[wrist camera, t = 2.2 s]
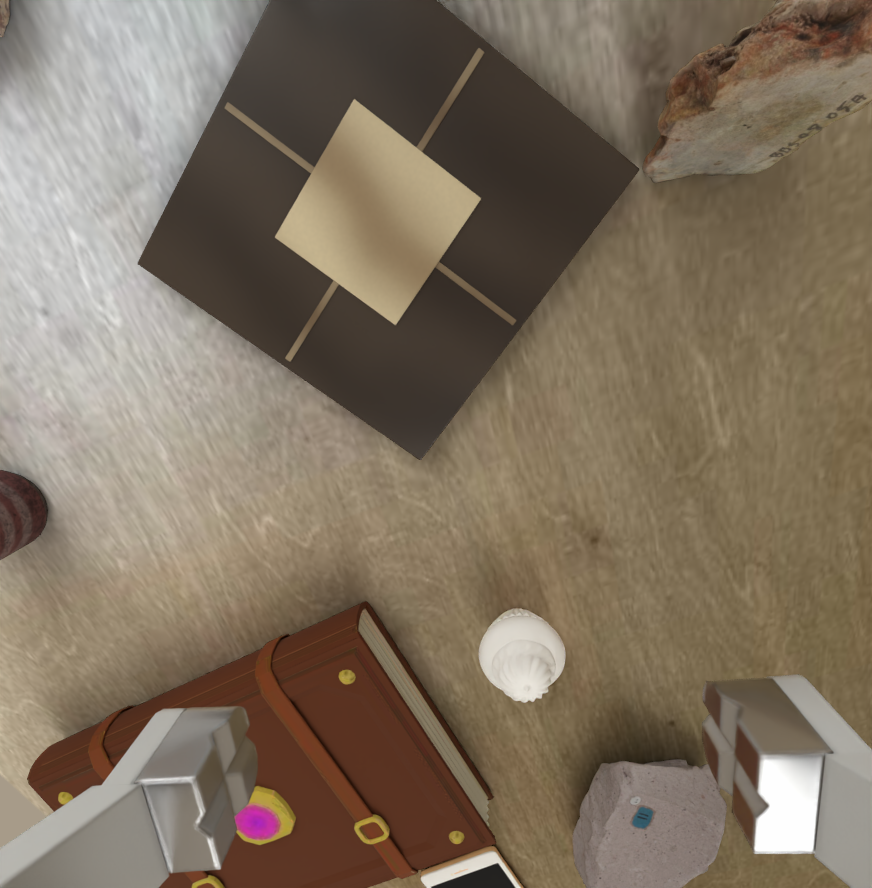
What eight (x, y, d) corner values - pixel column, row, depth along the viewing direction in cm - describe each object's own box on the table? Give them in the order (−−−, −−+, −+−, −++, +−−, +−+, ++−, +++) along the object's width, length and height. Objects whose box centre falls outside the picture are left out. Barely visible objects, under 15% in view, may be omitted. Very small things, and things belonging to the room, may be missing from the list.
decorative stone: (610, 722, 43) (632, 788, 38) (717, 756, 44) (754, 826, 38) (548, 833, 47) (559, 908, 41) (647, 864, 47) (671, 941, 42)
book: (494, 796, 46) (498, 855, 41) (205, 900, 52) (179, 962, 47) (362, 590, 41) (348, 631, 36) (58, 731, 47) (11, 782, 42)
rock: (787, 174, 32) (634, 217, 32) (762, 68, 32) (606, 110, 31) (1003, 38, 21) (768, 103, 20) (968, -130, 20) (726, -68, 20)
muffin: (543, 666, 42) (558, 738, 35) (468, 648, 42) (469, 717, 35) (567, 601, 40) (587, 663, 34) (489, 582, 40) (494, 641, 33)
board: (326, -79, 29) (317, -101, 27) (632, 174, 32) (641, 168, 30) (150, 264, 35) (134, 263, 33) (422, 454, 38) (420, 461, 36)
